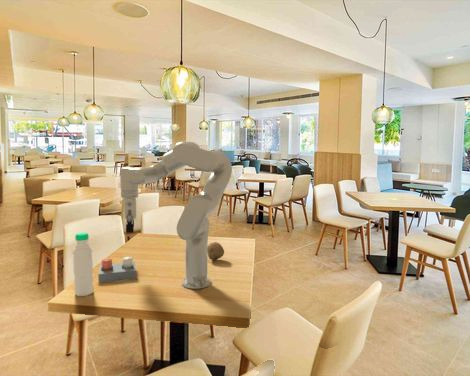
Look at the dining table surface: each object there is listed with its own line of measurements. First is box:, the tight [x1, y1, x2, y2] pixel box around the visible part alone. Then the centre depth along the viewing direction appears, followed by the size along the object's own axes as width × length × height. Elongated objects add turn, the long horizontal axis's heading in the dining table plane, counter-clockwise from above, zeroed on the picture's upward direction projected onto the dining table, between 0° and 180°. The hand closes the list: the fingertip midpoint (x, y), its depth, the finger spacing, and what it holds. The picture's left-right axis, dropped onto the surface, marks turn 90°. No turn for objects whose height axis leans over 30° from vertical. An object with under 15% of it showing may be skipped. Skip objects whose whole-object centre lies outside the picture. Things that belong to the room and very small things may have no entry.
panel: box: [97, 261, 137, 284], centre depth 155 cm, size 12×16×4 cm
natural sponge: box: [207, 241, 225, 262], centre depth 177 cm, size 9×9×10 cm
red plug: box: [101, 258, 113, 271], centre depth 153 cm, size 4×4×4 cm
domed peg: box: [122, 256, 134, 269], centre depth 156 cm, size 4×4×4 cm
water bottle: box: [72, 232, 94, 297], centre depth 135 cm, size 7×7×25 cm
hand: (130, 229), depth 156 cm, fingers open, 9 cm apart
